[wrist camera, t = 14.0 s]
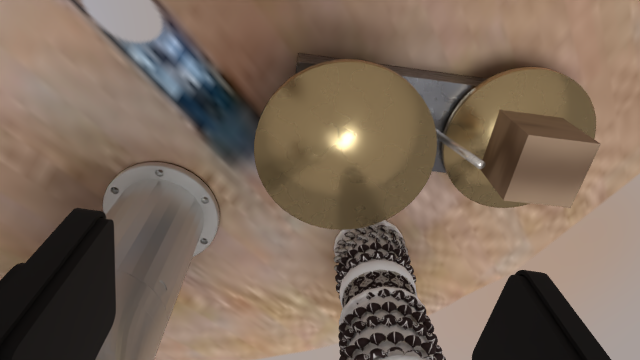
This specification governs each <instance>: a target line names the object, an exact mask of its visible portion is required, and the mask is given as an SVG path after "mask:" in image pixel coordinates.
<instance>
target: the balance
mask: <svg viewBox="0 0 640 360" xmlns="http://www.w3.org/2000/svg"><path fill="white" fill-rule="evenodd" d="M499 110H506V111H514V112H522V113H530V114H537V115H545V116H553V117H560V118H564V119H565V120H567V121H568V122H570V123H571V124H572V125H574V126H575V127H577V128H578V129H580V130H581V131H583V132H584V133H585V134H587V135H588V136H590V137H591V138H593V139H594V137H595V131H596V116H595V111H594V107H593V104H592V102H591V100H590V98H589V96H588V95H587V93H586V92H585V91H584V89H583V88H582V87H581V86H580V85H579V84H578V83H576V82H575V81H574V80H572V79H570V78H569V77H567V76H565V75H563V74H561V73H559V72H557V71H554V70H551V69H547V68H542V67H521V68H516V69H511V70H507V71H504V72H501V73H499V74H496V75H494V76H492V77H490V78H488V79H484V78H477V77H470V76H462V75H455V74H448V73H441V72H433V71H426V70H419V69H411V68H404V67H397V66H389V65H382V64H376V63H373V62H368V61H364V60H355V59H338V58H331V57H324V56H316V55H309V54H302V53H298V58H297V67H296V74H295V75H294V76H292V77H291V78H289V79H288V80H287V81H286V82H285V83H284V84H283V85H281V86H280V87H279V88H278V90H277V91H276V92H275V93H274V94H273V95H272V97H271V98H270V100H269V101H268V103H267V104H266V106H265V108H264V110H263V112H262V114H261V117H260V120H259V123H258V127H257V130H256V135H255V142H254V156H255V163H256V167H257V171H258V174H259V177H260V179H261V181H262V184H263V186H264V187H265V189H266V190H267V192H268V194H269V195H270V196H271V197H272V198H273V200H274V201H275V202H276V203H277V204H278V205H279V206H280V207H281V208H282V209H284V210H285V211H286V212H288V213H289V214H291V215H292V216H294V217H296V218H297V219H299V220H301V221H303V222H306V223H308V224H311V225H314V226H318V227H322V228H328V229H339V230H346V229H357V228H363V227H367V226H371V225H374V224H377V223H379V222H382V221H384V220H386V219H388V218H390V217H392V216H394V215H395V214H397V213H398V212H400V211H401V210H403V209H404V208H405V207H406V206H407V205H408V204H410V203H411V202H412V201H413V200H414V199H415V197H416V196H417V195H418V194H419V193H420V191H421V190H422V188H423V187H424V186H425V184H426V182H427V180H428V178H429V176H430V174H431V171H437V172H445V173H447V174H448V176H449V177H450V179H451V181H452V183H453V184H454V185H455V187H456V188H457V189H458V190H459V191H460V192H461V193H462V194H463V195H464V196H466V197H467V198H469V199H471V200H472V201H475V202H477V203H479V204H482V205H486V206H490V207H498V208H509V207H518V206H523V205H527V204H530V203H521V202H513V201H504V200H503V199H502V198H501V197H500V195H499V194H498V193H497V191H496V190H495V189H494V187H493V186H492V185H491V183H490V182H489V181H488V179H487V178H486V177H485V175H484V174H483V173H482V171H481V170H480V169H483V168H484V167H485V162H484V161H483V157H484V154H485V151H486V148H487V146H488V143H489V140H490V137H491V134H492V131H493V128H494V125H495V122H496V119H497V116H498V113H499Z"/></svg>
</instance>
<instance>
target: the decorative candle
mask: <svg viewBox="0 0 640 360" xmlns="http://www.w3.org/2000/svg"><path fill="white" fill-rule="evenodd" d="M334 253H335V257H334V261H335V262H336V263H339V265H336V266H335V267H334V269H335V271H337V273H338V274H337V275H336V277H335V279H336V282H337V283H339V284H337V285H336V290H337V292H338V293H340V295H339V299H340V301H341V305H342V308H343V309H342V312H341V316H340V320H339V325H340V326H339V331H340V333H339V336H338V337H339V340H340V341H339V346H340V348H341V349H340V355H341V357H340V359H339V360H446V359H445V357H444V356H443V355H442V349H441V347H440V346H439V345H437V342H438V339H437V336H436V335H435V334H433V332H434V327H433V325H432V324H431V322H430V319H429V317H428V316H426V309H425V306H424V305H423V304H422V302H421V301H420V300H419V299H418V297H417V293H416V287H415V282H416V277H415V276H414V275H413V272H414V270H413V268H412V266H411V265H409V264H410V262H411V261H410V257H409V255H408V250H407V248H406V246H405V241H404V239H403V236H402V234H401V233H400V231H399V230H398V229H397V227H396V226H395V225H394V224H392V223H390V222H388V221H386V220H384V221H382V222H379V223H377V224H374V225H371V226H367V227H363V228H357V229H346V230H341V231H340V233H339V234H338V235H337V236H336V239H335V244H334ZM434 357H435V358H434Z"/></svg>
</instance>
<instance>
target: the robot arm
mask: <svg viewBox="0 0 640 360" xmlns="http://www.w3.org/2000/svg"><path fill="white" fill-rule="evenodd" d="M161 170H162V171H161ZM206 197H207V198H206ZM102 206H103V212H102V211H95V210H88V209H80V208H75V209H74V210H73V211H72V212H71V213H70V214H69V215H68V216H67V217H66V218H65V219H64V221H63V222H62V223H61V224H60V225H59V226H58V227H57V228H56V229H55V231H54V232H53V233H52V234H51V235H50V236H49V237H48V238H47V240H46V241H45V242H44V243H43V244H42V245H41V246H40V247H39V248H38V250H37V251H36V252H35V253H34V254H33V255H32V256H31V257H30V259H29V260H28V261H27V262H26V263H20V264H17V265H16V266H14V267H13V268H12V269H11V270H10V271H9V272H8V273H7V274H6V275H5V276H4V277H3V278H2V279H1V281H0V360H154V359H155V356H156V353H157V350H158V347H159V344H160V342H161V339H162V336H163V334H164V331H165V328H166V326H167V323H168V321H169V318H170V315H171V313H172V310H173V307H174V305H175V302H176V299H177V297H178V294H179V291H180V289H181V286H182V283H183V281H184V278H185V275H186V273H187V270H188V268H189V265H190V262H191V260H192V257H194V256H196V255H197V254H199V253H201V252H202V251H204V250H205V249H206V248H207V247H208V246H209V245H210V243H211V242H212V241H213V239H214V237H215V235H216V232H217V229H218V226H219V218H220V213H219V208H218V204H217V201H216V199H215V197H214V195H213V193H212V192H211V190H210V189H209V187H208V186H207V185H206V184H205V183H204V182H203V181H202V180H201V179H200V178H198V177H197V176H195V175H194V174H193V173H191V172H189V171H187V170H185V169H183V168H181V167H178V166H175V165H172V164H167V163H161V162H146V163H141V164H136V165H134V166H131V167H129V168H127V169H125V170H124V171H122V172H121V173H119V174H118V175H117V176H116V177H115V178H114V180H113V181H112V182H111V183H110V184H109V186H108V187H107V189H106V192H105V194H104V198H103V205H102ZM472 360H611V359H610V357H609V356H608V355H607V354H606V352H605V351H604V349H603V348H602V347H601V346H600V344H599V343H598V342H597V340H596V339H595V338H594V336H593V335H592V334H591V332H590V331H589V330H588V328H587V327H586V326H585V324H584V323H583V322H582V320H581V319H580V318H579V316H578V315H577V314H576V312H575V311H574V310H573V308H572V307H571V306H570V304H569V303H568V302H567V300H566V299H565V298H564V296H563V295H562V294H561V292H560V291H559V290H558V288H557V287H556V286H555V284H554V283H553V282H552V280H551V279H550V278H549V276H548V275H546V274H545V273H541V272H534V271H526V270H520V271H518V272H517V273H516V274H515V275H511V276H510V277H509V278H508V281H507V282H506V284H505V286H504V289H503V291H502V293H501V295H500V297H499V299H498V301H497V303H496V305H495V307H494V309H493V312H492V314H491V315H490V318H489V320H488V322H487V324H486V326H485V328H484V330H483V332H482V334H481V336H480V338H479V341H478V342H477V345H476V347H475V349H474V351H473V354H472Z"/></svg>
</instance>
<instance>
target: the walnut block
mask: <svg viewBox="0 0 640 360" xmlns="http://www.w3.org/2000/svg"><path fill="white" fill-rule="evenodd" d="M599 146H600V143H598V142H597V141H596V140H594V139H593V138H591V137H590V136H588V135H587V134H585V133H584V132H583V131H581V130H580V129H578V128H577V127H575V126H574V125H572V124H571V123H570V122H568V121H567V120H565V119H564V118H560V117H553V116H545V115H537V114H530V113H522V112H514V111H506V110H499V113H498V116H497V119H496V122H495V125H494V128H493V131H492V134H491V137H490V140H489V143H488V146H487V148H486V151H485V154H484V157H483V161H484V162H485V167H484V168H483V169H480V170H481V171H482V173H483V174H484V175H485V177H486V178H487V179H488V181H489V182H490V183H491V185H492V186H493V187H494V189H495V190H496V191H497V193H498V194H499V195H500V197H501V198H502V199H503V200H504V201H513V202H521V203H530V204H539V205H548V206H557V207H566V208H571V206H572V204H573V202H574V200H575V197H576V195H577V193H578V191H579V189H580V187H581V185H582V183H583V180H584V178H585V176H586V174H587V172H588V170H589V168H590V166H591V163H592V161H593V159H594V157H595V155H596V153H597V151H598V149H599Z"/></svg>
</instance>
